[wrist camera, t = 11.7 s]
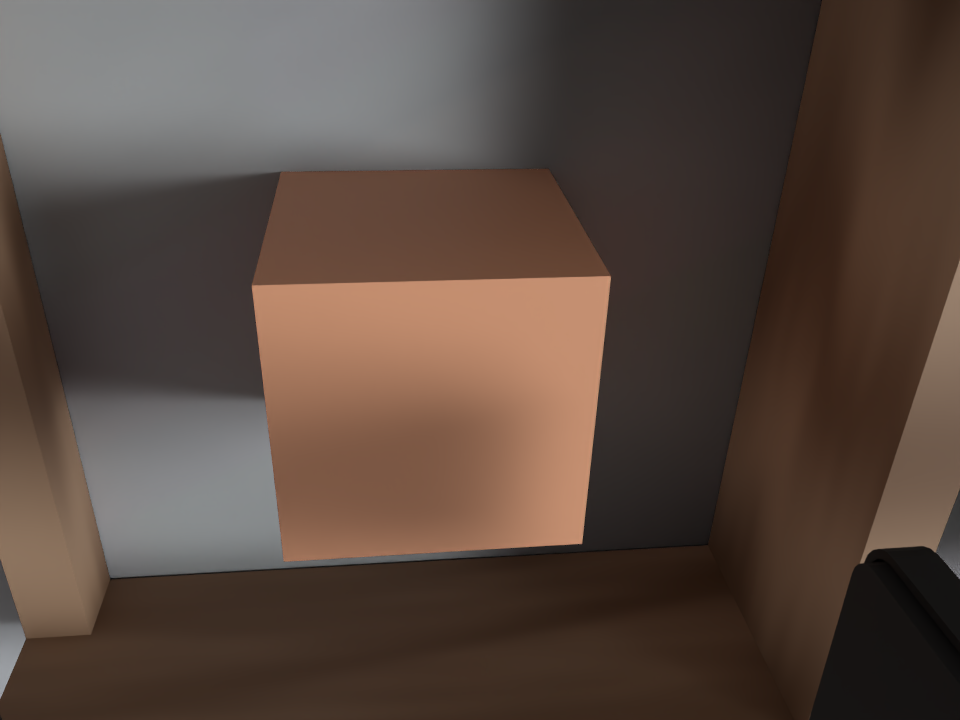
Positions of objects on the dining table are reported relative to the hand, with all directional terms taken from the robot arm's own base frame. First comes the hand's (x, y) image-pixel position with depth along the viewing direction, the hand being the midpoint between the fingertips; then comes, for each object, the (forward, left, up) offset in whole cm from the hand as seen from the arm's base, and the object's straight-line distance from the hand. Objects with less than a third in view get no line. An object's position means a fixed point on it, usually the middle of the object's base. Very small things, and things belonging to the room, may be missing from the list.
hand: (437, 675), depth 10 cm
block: (-1, 0, -8) cm, 8 cm away
